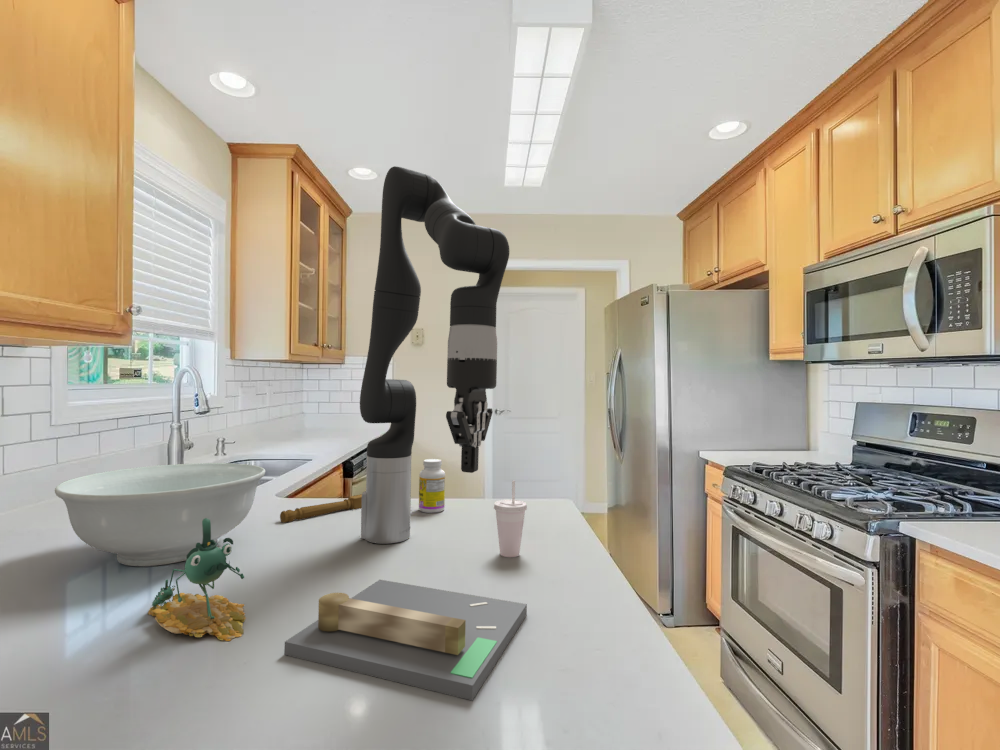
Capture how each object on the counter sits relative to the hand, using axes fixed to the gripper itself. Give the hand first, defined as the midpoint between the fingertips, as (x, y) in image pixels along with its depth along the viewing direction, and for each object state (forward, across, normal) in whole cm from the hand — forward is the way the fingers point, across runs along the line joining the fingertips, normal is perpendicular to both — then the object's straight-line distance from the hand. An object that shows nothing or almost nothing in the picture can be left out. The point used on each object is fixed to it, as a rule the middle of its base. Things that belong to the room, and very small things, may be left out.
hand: (469, 471), depth 74 cm
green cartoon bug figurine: (+20, +19, -31) cm, 41 cm away
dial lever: (+17, +17, -3) cm, 24 cm away
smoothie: (+20, -21, 0) cm, 29 cm away
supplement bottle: (+20, -45, -29) cm, 58 cm away
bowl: (+20, +2, -60) cm, 63 cm away
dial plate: (+19, +12, -2) cm, 22 cm away
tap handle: (+20, -36, -50) cm, 65 cm away
